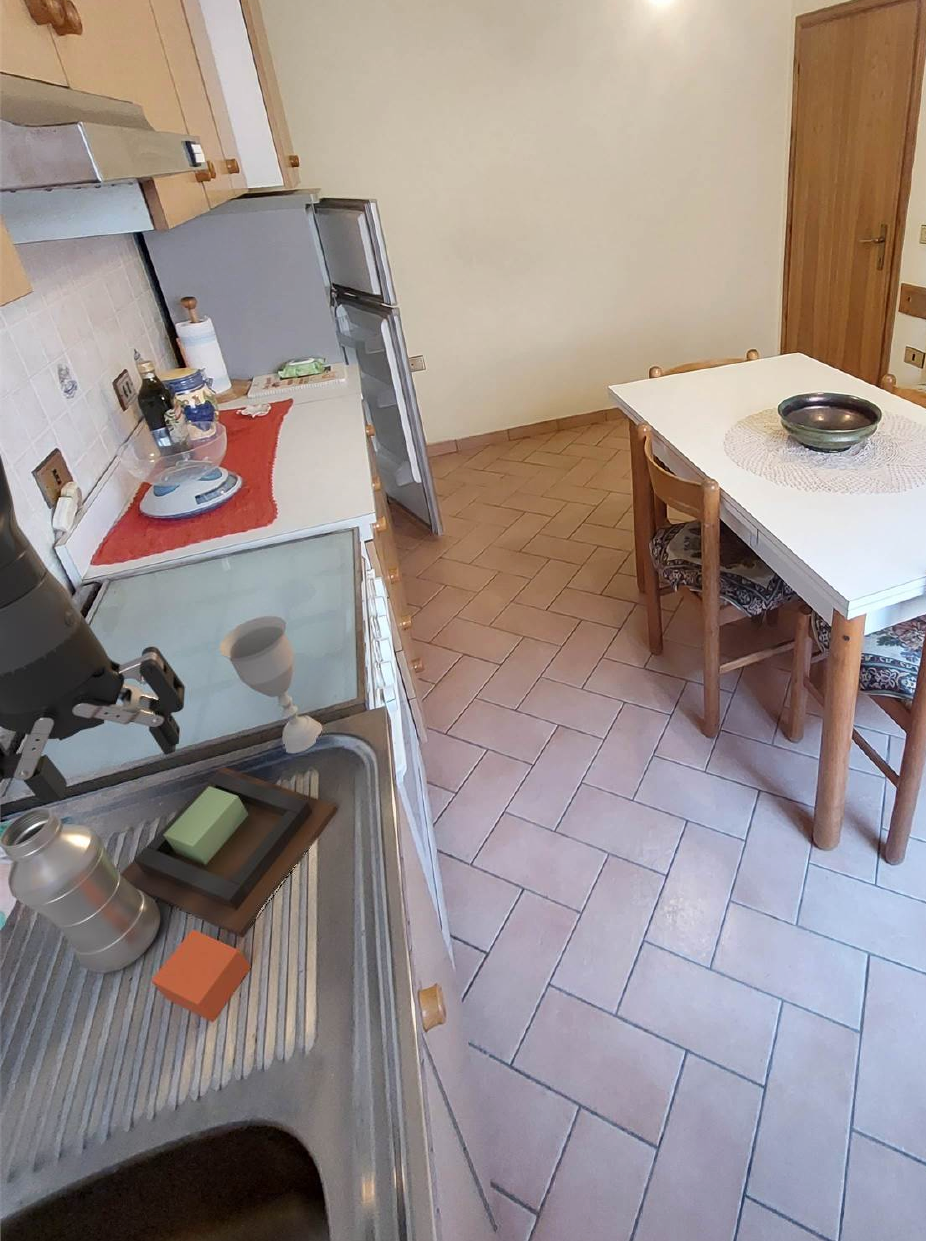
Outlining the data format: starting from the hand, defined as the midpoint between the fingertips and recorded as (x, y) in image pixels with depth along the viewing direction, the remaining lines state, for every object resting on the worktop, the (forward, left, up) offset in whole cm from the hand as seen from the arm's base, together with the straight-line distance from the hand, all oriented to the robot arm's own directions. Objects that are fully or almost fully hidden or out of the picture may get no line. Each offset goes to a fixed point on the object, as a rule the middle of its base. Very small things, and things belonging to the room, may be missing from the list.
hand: (117, 769), depth 60 cm
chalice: (-6, +19, -22) cm, 30 cm away
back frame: (-3, +5, -22) cm, 23 cm away
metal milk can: (-5, -6, -22) cm, 24 cm away
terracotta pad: (+6, -6, -22) cm, 24 cm away
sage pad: (-6, +5, -21) cm, 23 cm away
